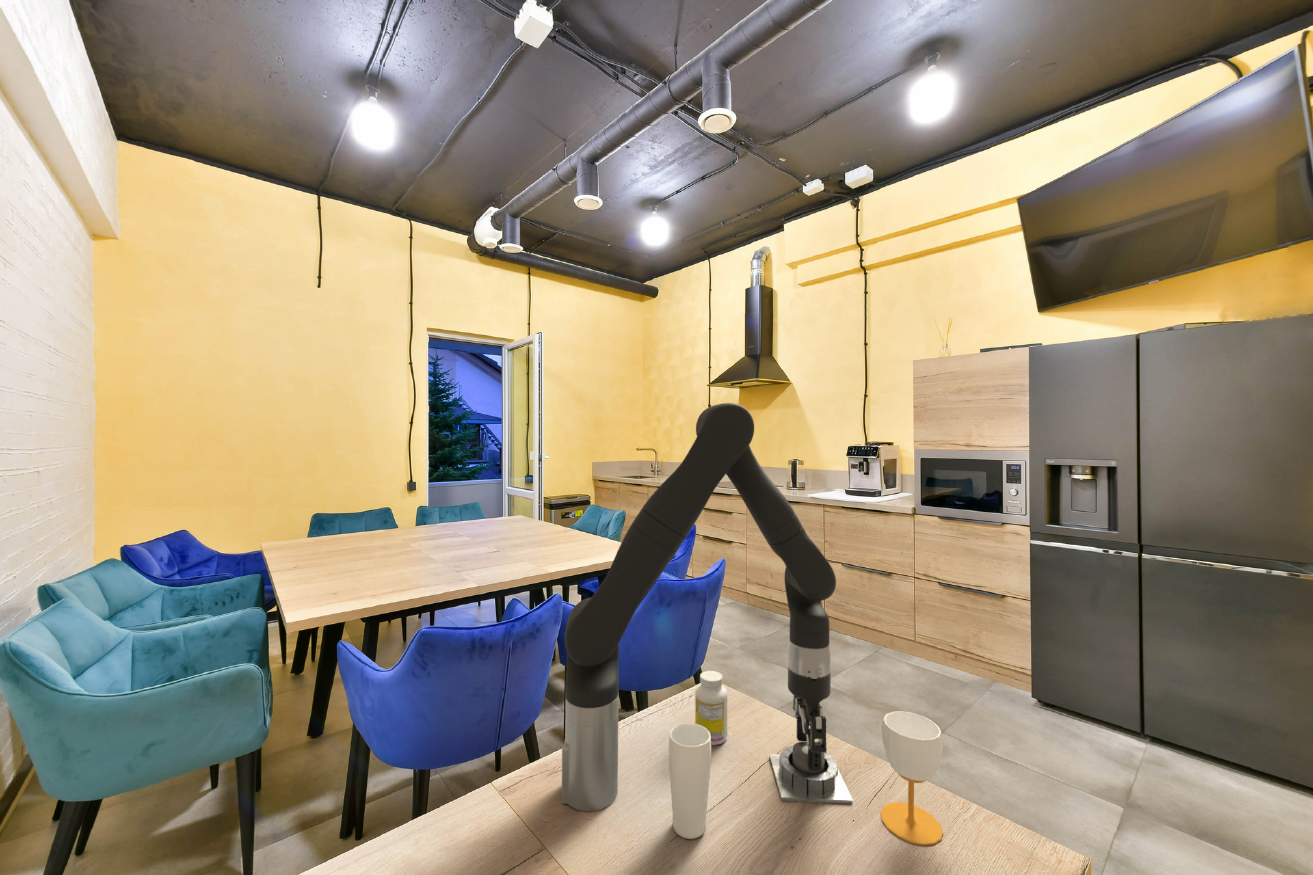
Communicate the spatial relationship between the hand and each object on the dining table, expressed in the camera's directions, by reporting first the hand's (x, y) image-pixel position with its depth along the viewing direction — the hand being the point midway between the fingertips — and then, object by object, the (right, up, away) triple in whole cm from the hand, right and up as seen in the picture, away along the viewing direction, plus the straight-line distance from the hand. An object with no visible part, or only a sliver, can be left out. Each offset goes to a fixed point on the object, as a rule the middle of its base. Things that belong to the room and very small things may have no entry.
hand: (808, 754), depth 93 cm
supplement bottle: (-16, -5, +13) cm, 21 cm away
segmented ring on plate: (0, -5, 0) cm, 4 cm away
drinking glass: (-23, -5, -12) cm, 26 cm away
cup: (+14, -5, -11) cm, 18 cm away
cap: (0, -4, 0) cm, 4 cm away
